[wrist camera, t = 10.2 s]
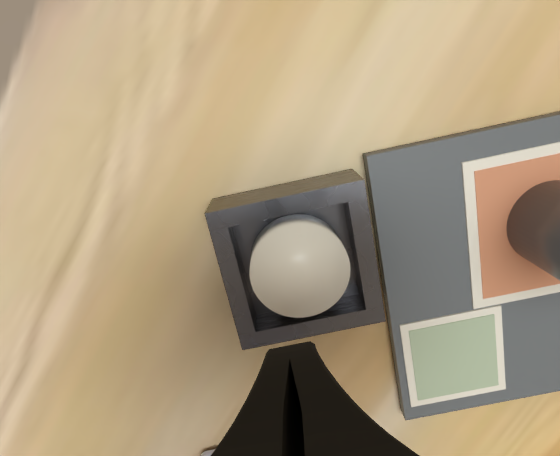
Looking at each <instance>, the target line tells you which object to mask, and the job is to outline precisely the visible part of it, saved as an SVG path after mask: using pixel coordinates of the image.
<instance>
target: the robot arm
mask: <svg viewBox="0 0 560 456" xmlns="http://www.w3.org/2000/svg"><path fill="white" fill-rule="evenodd" d="M200 456H419V455H418V454H416V453H415V452H413V451H412V450H411V449H409V448H408V447H406V446H405V445H404V444H402V443H401V442H400V441H398V440H397V439H396V438H394V437H393V436H391V435H390V434H389V433H388V432H386V431H385V430H384V429H383V428H382V427H380V426H379V425H378V424H377V423H376V422H375V421H374V420H372V419H371V418H370V417H369V416H368V415H367V414H366V413H365V412H364V411H363V410H362V409H361V408H360V407H359V406H358V405H357V404H356V403H355V402H354V401H353V400H352V399H351V397H350V396H349V395H348V394H347V393H346V392H345V391H344V390H343V388H342V387H341V386H340V385H339V383H338V382H337V381H336V379H335V378H334V377H333V376H332V374H331V373H330V371H329V370H328V369H327V367H326V366H325V364H324V362H323V361H322V359H321V357H320V356H319V354H318V352H317V349H316V347H315V344H314V343H312V342H311V341H310V342H305V343H300V344H294V345H289V346H284V347H279V348H274V349H269V350H268V352H267V353H266V356H265V359H264V361H263V364H262V367H261V369H260V371H259V374H258V376H257V378H256V381H255V383H254V385H253V387H252V389H251V391H250V393H249V395H248V397H247V399H246V401H245V403H244V405H243V406H242V408H241V410H240V412H239V414H238V415H237V417H236V419H235V421H234V422H233V424H232V425H231V427H230V429H229V430H228V432H227V433H226V435H225V436H224V438H223V439H222V441H221V442H220V444H219V445H218V446H217V448H216V449H214V450H208V451H205V452H203V453H202V454H201V455H200Z"/></svg>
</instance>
